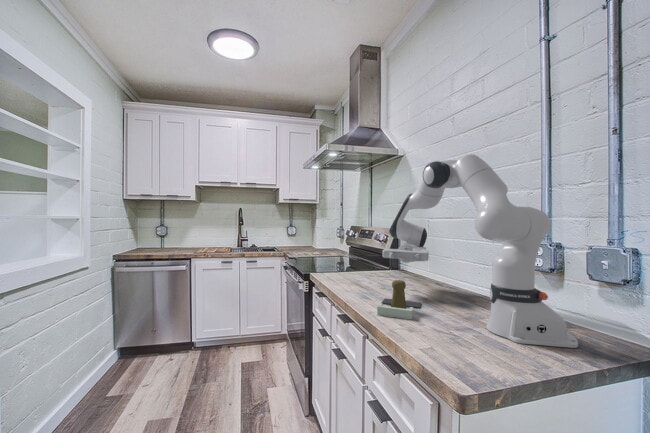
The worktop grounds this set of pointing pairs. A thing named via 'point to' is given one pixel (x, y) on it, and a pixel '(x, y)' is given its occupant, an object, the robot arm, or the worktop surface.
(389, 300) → the trap squares
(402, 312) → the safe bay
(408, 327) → the worktop surface
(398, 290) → the cork
